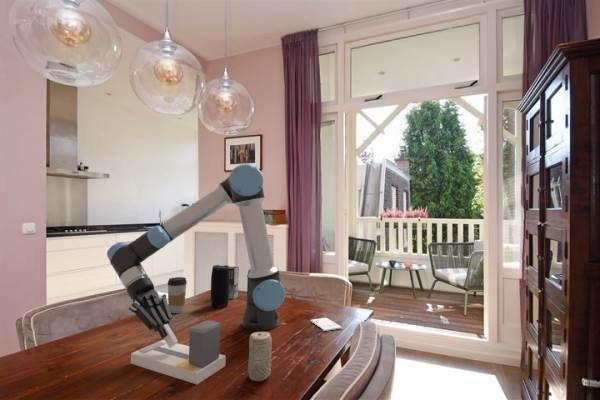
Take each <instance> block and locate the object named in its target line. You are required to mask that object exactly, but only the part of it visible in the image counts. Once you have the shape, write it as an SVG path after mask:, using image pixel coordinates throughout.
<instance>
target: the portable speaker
mask: <svg viewBox="0 0 600 400" xmlns="http://www.w3.org/2000/svg"><path fill="white" fill-rule="evenodd" d="M229 284H230V276H229V265H228V264H226V265H220V264H215V265H212V269H211V275H210V304H211V306H210V307H211V308H215V307H218V308H219V309H224V308H227V307H228V305H229Z"/></svg>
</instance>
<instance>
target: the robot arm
mask: <svg viewBox="0 0 600 400" xmlns="http://www.w3.org/2000/svg"><path fill="white" fill-rule="evenodd" d="M263 186H264V177H263V174H262V172H261V171H260V169H259V168H258V167H257V166H255V165H252V164H247V163H245V164H243V163H242V164H241V165H237V166H235V167H234V168H233V169H232V171H231V172H230V174H229V175H228V177H227V178H226V179H224V180H223V181H222V182H220V183H219V184H218V185H217V188H215V189H214V190H213V191H210V192H209V193H208V194H206V195H204V196H203V197H201V198H200V199H198V200H197V201H196V202H194V203H192V204H191V205H189V206H187V207H186V208H185V209H183V210H182V211H180V212H178V213H177V214H175V215H173V216H172V217H171V218H169V219H167V220H166V221H164V222H162V223H161V224H160V225H155V226H154V227H152V228H150V229H148V230H147V231H146V232H144V233H143V234H141V235H140V236H139V237H138V238H136V239H134V240H133V241H131V242H130V243H129V242H127V241H119V242H117V243H114V244H113V245H112V246H110V247H109V248H108V250H107V252H106V256H107V258H108V260H109V263H110V265H111V266H112V268H113V269H114V272H115V273H116V274H117V276H118V278H119V280H120V281H121V284H122V285H123V287H124V289H125V290H126V293H128V296H129V298H130V299H131V300H132V303H131V305H130V306H129V307H128V310H129V311H131V312H132V313H134V314H135V315H136V316H137V317H138V318H139V320H141V322H142V323H143V324H144V325H145V326H146V328H148V330H149V331H154V332H155V333H156V332H158V334H159V336H160V337H161V339H163V340H165V341H166V343H167V345H168V346H169V348H171V347H173V346H174V345H175V344H176V343H179V340H178V339H177V337H176V334H174V332H175V331H174V329H173V327H172V326H171V322H172V321H173V319H174V318H173V314H171V312H170V309H169V305H168V299H167V295H166V294H165V293H164V294H163V295H161V294H159V293H158V291H156V290H155V284H154V283H153V281H152V280H151V278H150V277H149V275H148V273H147V271H146V270H145V268H144V266H143V265H142V264H141V263H143V262H144V261H146V259H148V258H150V257H151V256H152V255H154V254H156V253H157V252H159V251H160V250H161V249H163V248H164V247H166V246H167V245H168V244H169V243H171V242H172V241H173V240H175V239H177V238H178V237H179V236H180V237H181V235H183V234H184V233H186V232H187V231H189V230H191V229H193V227H195V226H197V225H199V223H201V222H202V221H204V220H206V219H207V218H209V217H211V215H212V216H213V214H215V213H216V212H218V211H219V210H221V209H222V208H224V207H225V206H228V205H229V204H230V205H231V204H234V205H235V206H236V207H238V211H239V215H240V221H241V226H242V231H243V236H244V240H245V241H244V242H245V246H246V251H247V257H248V262H249V266H250V269H248V270H247V274H246V277H247V282H246V283H247V286H246V292H247V293H246V307H245V310H244V312H243V316H242V319H241V325H242V327H243V328H245V329H247V330H253V331H267V330H271V329H274V328H277V327H278V326H279V323H280V318H279V313H278V311H277V309H278V308H279V307H281V305H282V304H283V303H284V301H285V297H286V289H285V287H284V285H283V283H282V280H281V275H280V270H279V268H278V267H277V266H275V264H274V261H273V260H274V259H273V254H272V251H271V245H270V240H269V235H268V229H267V223H266V219H265V213H264V210H263V209H264V208H263V204H262V203H263V201H265V198H266V197H265V192H264V187H263Z"/></svg>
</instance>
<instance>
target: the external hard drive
mask: <svg viewBox="0 0 600 400" xmlns="http://www.w3.org/2000/svg"><path fill="white" fill-rule="evenodd" d="M310 321H311V322H312V323H314V324H315V325H317V326H318V327H320V328H321V329H322V330H324V331H329V330H334V329H340V328H342V329H343V327H342V326H341V325H339V324H337V323H336V322H334V321H333V320H331V319H329V318H328V317H321V318H313V319H310ZM310 321H309V322H310ZM311 322H310V323H311ZM312 323H311V324H312ZM315 325H314V326H315ZM318 327H317V328H318ZM321 329H320V330H321ZM322 330H321V331H322ZM324 331H323V332H324ZM334 331H335V330H334ZM329 332H330V331H329Z"/></svg>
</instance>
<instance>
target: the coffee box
mask: <svg viewBox="0 0 600 400" xmlns="http://www.w3.org/2000/svg"><path fill="white" fill-rule="evenodd" d="M228 266H229V265H228ZM239 268H240V267H239V266H229V276H230V284H229V299H231V300H232V299H233V300H235V299H236V298H237V297H239Z"/></svg>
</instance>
